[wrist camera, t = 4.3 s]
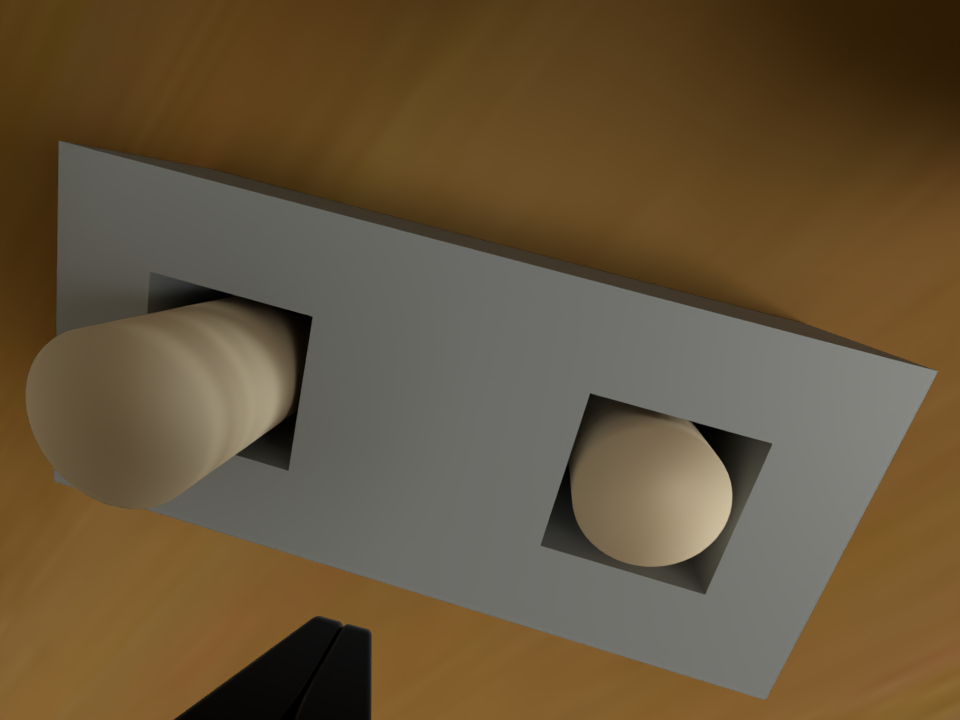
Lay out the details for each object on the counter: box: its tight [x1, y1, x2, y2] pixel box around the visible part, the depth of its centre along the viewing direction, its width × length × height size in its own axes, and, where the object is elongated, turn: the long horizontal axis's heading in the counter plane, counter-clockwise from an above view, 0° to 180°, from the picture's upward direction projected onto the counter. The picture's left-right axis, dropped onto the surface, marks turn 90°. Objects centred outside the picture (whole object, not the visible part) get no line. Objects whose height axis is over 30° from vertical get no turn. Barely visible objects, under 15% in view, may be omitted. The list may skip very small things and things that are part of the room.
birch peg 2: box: [568, 393, 732, 567], centre depth 16 cm, size 4×4×6 cm
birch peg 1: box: [26, 296, 312, 509], centre depth 13 cm, size 4×4×6 cm
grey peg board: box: [54, 141, 938, 700], centre depth 16 cm, size 22×10×6 cm, turn 76°
